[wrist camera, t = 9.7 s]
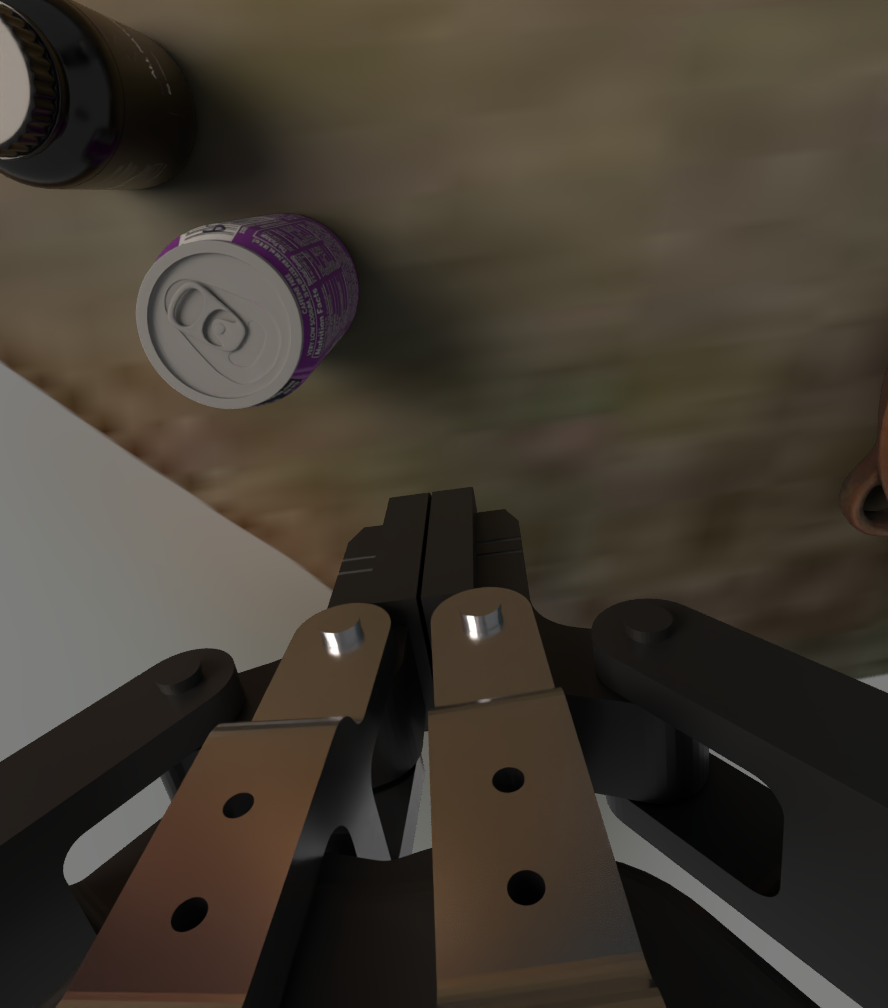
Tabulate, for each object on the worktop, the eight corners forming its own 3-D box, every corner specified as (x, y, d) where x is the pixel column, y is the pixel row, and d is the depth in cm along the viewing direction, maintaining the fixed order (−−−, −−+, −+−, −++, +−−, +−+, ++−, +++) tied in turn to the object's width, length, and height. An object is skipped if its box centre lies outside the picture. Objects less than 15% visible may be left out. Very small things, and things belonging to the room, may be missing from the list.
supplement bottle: (208, 50, 33) (75, -16, 22) (192, 205, 36) (68, 215, 25) (58, 7, 32) (-153, -83, 21) (55, 167, 35) (-134, 161, 24)
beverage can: (202, 300, 37) (91, 348, 27) (269, 181, 35) (177, 181, 24) (315, 379, 39) (254, 455, 28) (387, 271, 36) (351, 308, 26)
